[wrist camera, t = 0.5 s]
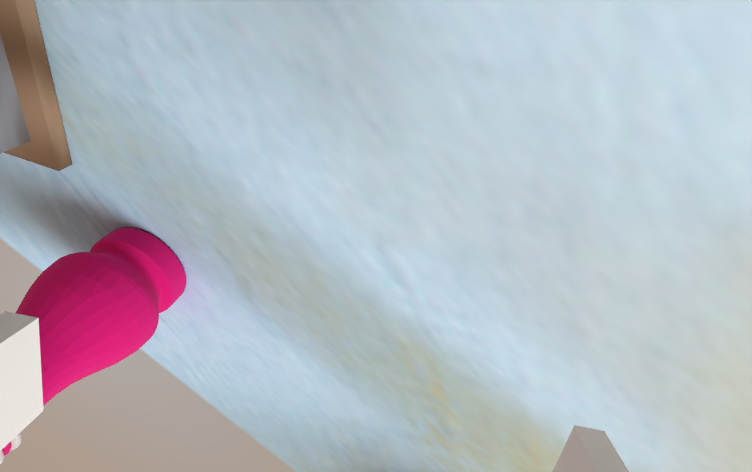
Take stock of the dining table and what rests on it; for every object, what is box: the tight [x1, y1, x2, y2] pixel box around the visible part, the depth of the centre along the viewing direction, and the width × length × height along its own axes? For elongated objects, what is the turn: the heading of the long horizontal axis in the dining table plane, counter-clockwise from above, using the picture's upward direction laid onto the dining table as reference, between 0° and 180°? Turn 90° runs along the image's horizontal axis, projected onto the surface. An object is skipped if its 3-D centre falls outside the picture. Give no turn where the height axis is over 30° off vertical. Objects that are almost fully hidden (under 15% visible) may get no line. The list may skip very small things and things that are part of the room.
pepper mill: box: [0, 228, 186, 464], centre depth 23 cm, size 7×7×20 cm
